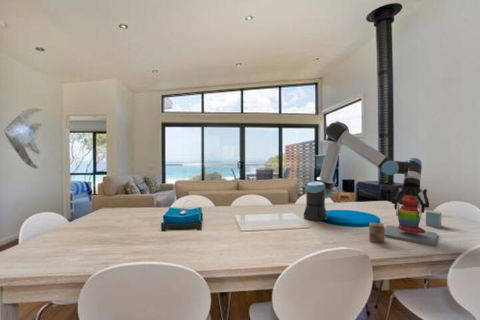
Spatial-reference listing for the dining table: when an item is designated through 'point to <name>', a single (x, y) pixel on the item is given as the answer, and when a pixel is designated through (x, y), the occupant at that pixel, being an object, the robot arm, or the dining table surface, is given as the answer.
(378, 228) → the walnut block
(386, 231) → the slate board
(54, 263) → the dining table surface
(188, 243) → the dining table surface
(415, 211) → the stacking bear
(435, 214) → the grey-teal block
